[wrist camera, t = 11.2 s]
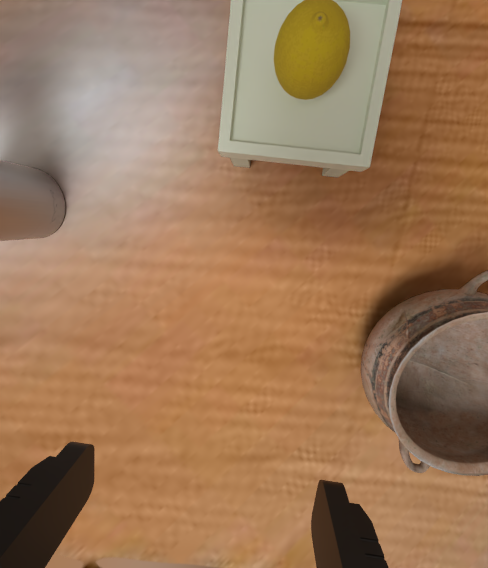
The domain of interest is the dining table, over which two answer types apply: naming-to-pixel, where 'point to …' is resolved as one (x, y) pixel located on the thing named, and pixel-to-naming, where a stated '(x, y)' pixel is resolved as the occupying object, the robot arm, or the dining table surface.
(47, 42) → the dining table surface
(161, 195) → the dining table surface
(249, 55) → the stool
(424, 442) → the cooking pot
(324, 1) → the lemon
